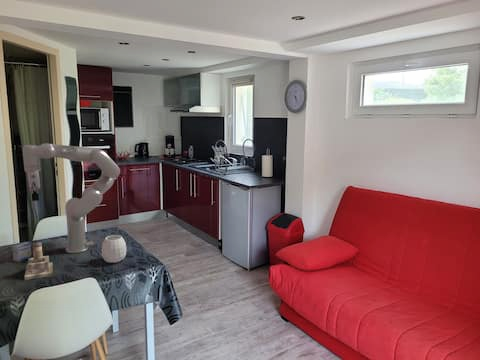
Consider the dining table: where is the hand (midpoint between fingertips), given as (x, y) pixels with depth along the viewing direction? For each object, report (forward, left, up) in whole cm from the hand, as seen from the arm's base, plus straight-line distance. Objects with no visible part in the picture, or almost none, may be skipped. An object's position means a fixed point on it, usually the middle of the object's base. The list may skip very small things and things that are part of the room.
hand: (35, 198), depth 195 cm
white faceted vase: (-38, +21, -34) cm, 55 cm away
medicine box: (+8, 0, -34) cm, 35 cm away
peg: (-1, +22, -32) cm, 39 cm away
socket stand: (-1, +22, -34) cm, 40 cm away
